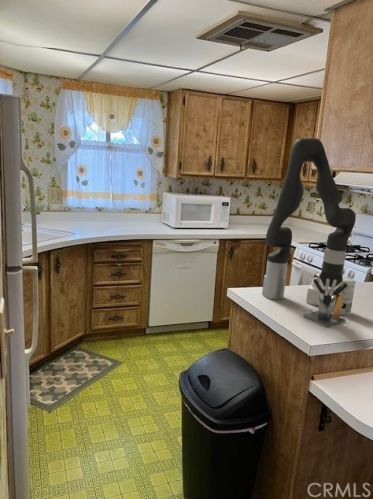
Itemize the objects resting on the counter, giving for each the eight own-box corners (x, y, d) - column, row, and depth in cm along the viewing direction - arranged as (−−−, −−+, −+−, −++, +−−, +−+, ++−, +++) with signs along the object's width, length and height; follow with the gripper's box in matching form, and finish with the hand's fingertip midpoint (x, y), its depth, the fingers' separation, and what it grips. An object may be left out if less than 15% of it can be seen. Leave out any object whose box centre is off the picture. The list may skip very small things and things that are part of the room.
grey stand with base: (302, 316, 168) (305, 299, 167) (321, 312, 175) (323, 295, 174) (327, 327, 159) (329, 309, 157) (345, 321, 166) (348, 304, 164)
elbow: (314, 305, 169) (317, 284, 167) (329, 306, 170) (332, 284, 168) (329, 318, 156) (333, 295, 154) (345, 318, 157) (349, 295, 154)
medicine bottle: (310, 298, 192) (313, 274, 189) (325, 302, 188) (328, 277, 186) (306, 303, 186) (309, 277, 183) (321, 306, 182) (325, 281, 180)
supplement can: (327, 311, 177) (331, 278, 173) (335, 307, 182) (340, 275, 179) (345, 317, 171) (350, 283, 168) (353, 312, 177) (358, 279, 173)
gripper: (316, 260, 150) (309, 304, 154) (354, 265, 148) (346, 310, 152) (314, 256, 157) (307, 298, 161) (350, 260, 155) (342, 303, 159)
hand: (326, 304), depth 156 cm, fingers closed
